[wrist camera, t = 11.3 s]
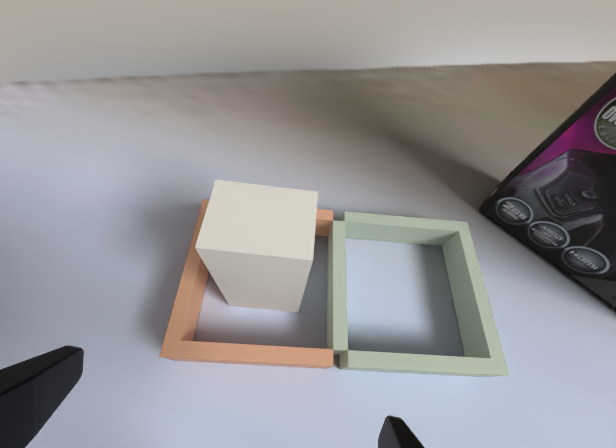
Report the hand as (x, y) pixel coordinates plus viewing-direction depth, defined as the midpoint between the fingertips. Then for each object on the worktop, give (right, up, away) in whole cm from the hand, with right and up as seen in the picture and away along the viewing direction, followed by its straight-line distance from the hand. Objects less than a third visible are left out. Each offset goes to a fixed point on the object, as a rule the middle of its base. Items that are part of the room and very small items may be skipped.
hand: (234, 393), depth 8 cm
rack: (+4, -1, +16) cm, 16 cm away
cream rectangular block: (-1, 0, +15) cm, 16 cm away
